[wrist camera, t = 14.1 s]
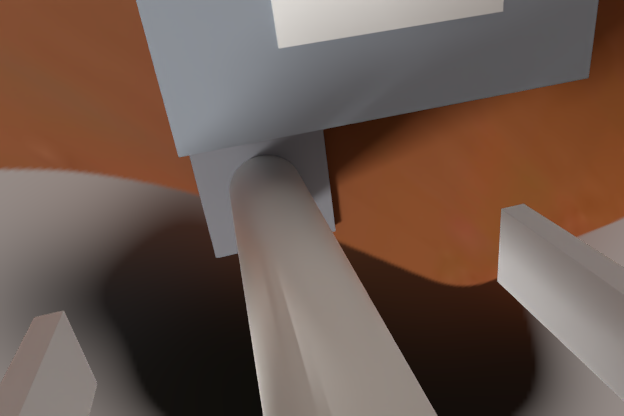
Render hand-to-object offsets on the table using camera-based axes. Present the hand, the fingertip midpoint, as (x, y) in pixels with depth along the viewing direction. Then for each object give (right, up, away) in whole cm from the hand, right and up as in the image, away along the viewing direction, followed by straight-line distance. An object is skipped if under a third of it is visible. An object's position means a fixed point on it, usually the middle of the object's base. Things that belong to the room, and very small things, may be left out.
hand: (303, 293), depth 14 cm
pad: (-2, +4, +8) cm, 9 cm away
